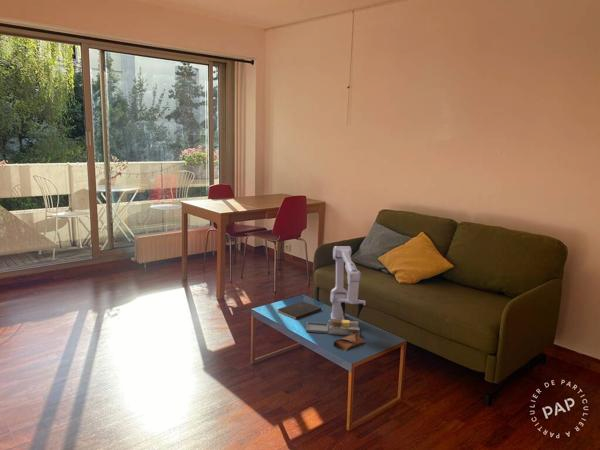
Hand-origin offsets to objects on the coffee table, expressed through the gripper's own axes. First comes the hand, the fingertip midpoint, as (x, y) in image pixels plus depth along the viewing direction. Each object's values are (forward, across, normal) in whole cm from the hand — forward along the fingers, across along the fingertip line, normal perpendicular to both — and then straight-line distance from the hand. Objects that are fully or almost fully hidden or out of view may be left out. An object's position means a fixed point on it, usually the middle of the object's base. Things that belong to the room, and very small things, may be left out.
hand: (350, 316), depth 260 cm
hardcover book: (+11, -29, +28) cm, 42 cm away
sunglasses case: (+11, 0, -14) cm, 18 cm away
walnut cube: (+9, -7, +3) cm, 12 cm away
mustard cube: (+9, -2, +3) cm, 9 cm away
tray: (+10, -18, +3) cm, 21 cm away
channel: (+10, -3, +3) cm, 11 cm away
